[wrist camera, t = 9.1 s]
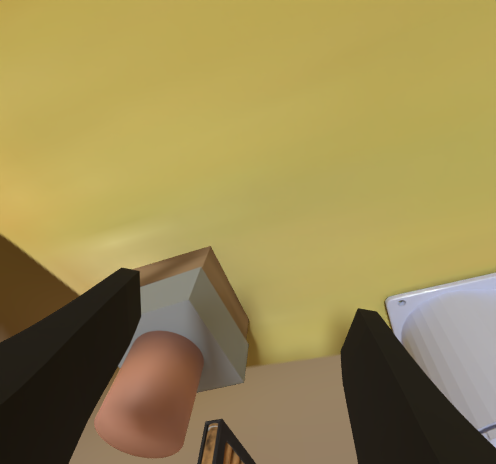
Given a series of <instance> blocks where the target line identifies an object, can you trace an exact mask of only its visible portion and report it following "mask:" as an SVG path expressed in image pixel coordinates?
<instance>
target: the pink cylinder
mask: <svg viewBox="0 0 496 464" xmlns="http://www.w3.org/2000/svg"><path fill="white" fill-rule="evenodd" d="M203 366H204V358H203V355H202V353H201V351H200V349H199V348H198V347H197V346H196V345H195V344H194V343H193V342H192V341H190V340H189V339H187V338H186V337H184V336H182V335H179V334H177V333H173V332H169V331H151V332H147V333H144V334H142V335H140V336H139V337H138V338H137V339H136V340H135V341H134V343H133V345H132V347H131V349H130V351H129V353H128V355H127V357H126V359H125V360H124V362H123V364H122V366H121V368H120V370H119V372H118V374H117V376H116V378H115V380H114V382H113V384H112V386H111V388H110V390H109V392H108V394H107V396H106V398H105V400H104V402H103V404H102V406H101V407H100V409H99V411H98V413H97V415H96V418H95V421H94V424H95V429H96V431H97V433H98V434H99V435H100V437H101V438H102V439H103V440H104V441H106V442H107V443H108V444H109V445H111V446H113V447H114V448H116V449H118V450H120V451H122V452H125V453H127V454H130V455H134V456H138V457H144V458H163V457H168V456H171V455H173V454H175V453H177V452H178V451H179V450H180V449H181V448H182V446H183V444H184V440H185V436H186V431H187V428H188V424H189V420H190V416H191V412H192V408H193V404H194V401H195V396H196V393H197V389H198V385H199V381H200V377H201V373H202V369H203Z"/></svg>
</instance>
